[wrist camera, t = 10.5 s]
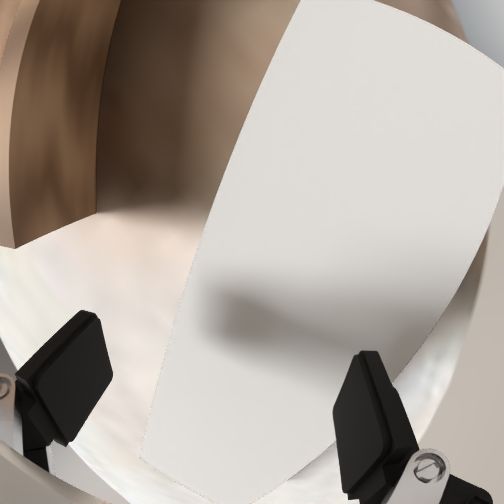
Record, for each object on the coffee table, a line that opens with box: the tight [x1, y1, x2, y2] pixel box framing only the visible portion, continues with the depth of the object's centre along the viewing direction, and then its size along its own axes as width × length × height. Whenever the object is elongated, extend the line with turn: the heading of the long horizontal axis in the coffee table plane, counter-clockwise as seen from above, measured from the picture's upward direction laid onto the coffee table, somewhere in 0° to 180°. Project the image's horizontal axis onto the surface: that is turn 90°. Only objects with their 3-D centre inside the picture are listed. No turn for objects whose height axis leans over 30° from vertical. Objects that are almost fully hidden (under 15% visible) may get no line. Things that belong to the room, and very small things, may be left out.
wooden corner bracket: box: [0, 0, 121, 249], centre depth 8 cm, size 17×9×6 cm, turn 175°
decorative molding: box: [140, 0, 504, 504], centre depth 14 cm, size 34×5×10 cm
